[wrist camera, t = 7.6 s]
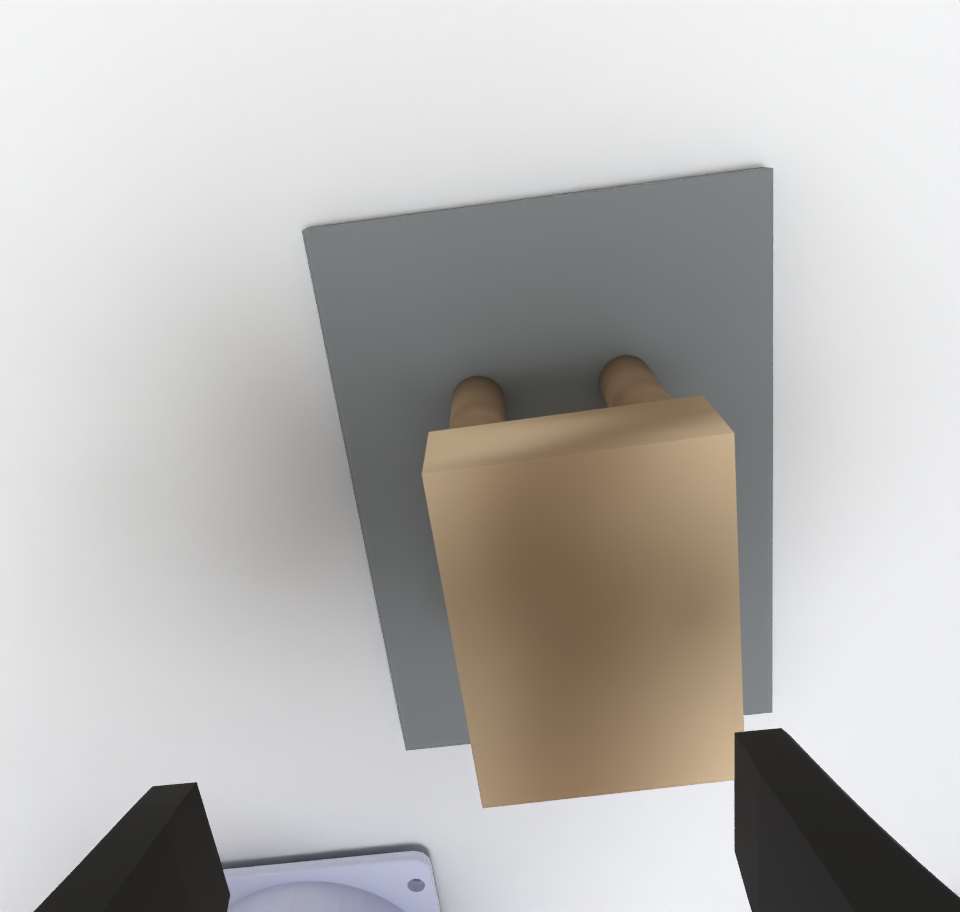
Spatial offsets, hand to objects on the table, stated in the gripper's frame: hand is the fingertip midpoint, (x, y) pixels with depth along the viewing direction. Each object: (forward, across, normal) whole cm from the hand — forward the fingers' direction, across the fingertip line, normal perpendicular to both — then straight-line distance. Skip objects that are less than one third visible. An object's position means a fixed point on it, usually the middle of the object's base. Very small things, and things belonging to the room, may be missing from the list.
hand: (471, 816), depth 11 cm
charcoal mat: (+10, -2, 0) cm, 11 cm away
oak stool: (+10, -2, 0) cm, 10 cm away
